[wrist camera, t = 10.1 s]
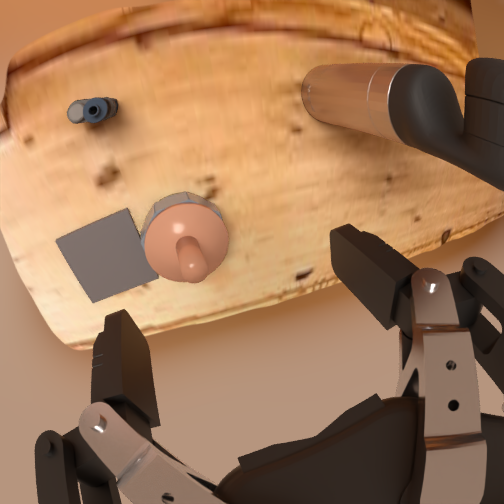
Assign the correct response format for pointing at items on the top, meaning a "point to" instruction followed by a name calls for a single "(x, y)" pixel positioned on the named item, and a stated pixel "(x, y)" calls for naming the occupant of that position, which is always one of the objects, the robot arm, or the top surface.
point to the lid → (186, 242)
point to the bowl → (171, 201)
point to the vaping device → (92, 110)
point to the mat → (107, 256)
